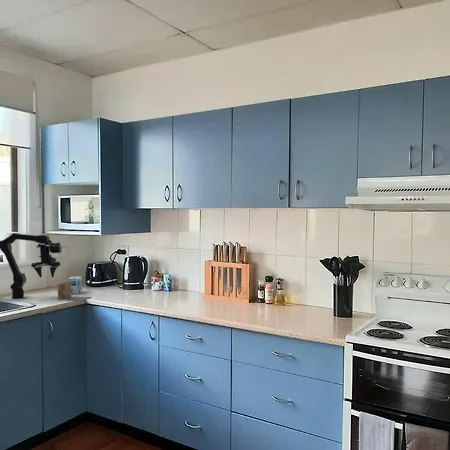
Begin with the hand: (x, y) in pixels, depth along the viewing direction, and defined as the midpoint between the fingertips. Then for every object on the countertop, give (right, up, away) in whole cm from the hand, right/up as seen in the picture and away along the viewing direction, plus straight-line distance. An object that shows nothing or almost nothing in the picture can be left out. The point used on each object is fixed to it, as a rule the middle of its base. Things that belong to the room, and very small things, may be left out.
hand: (46, 277), depth 301 cm
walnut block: (+15, -13, -8) cm, 21 cm away
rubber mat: (+24, -13, -9) cm, 29 cm away
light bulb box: (+14, -13, +13) cm, 23 cm away
